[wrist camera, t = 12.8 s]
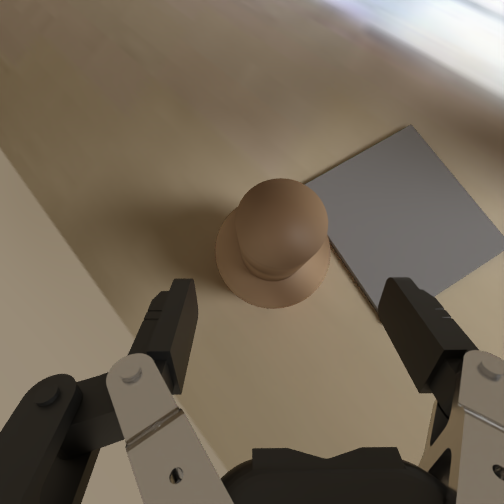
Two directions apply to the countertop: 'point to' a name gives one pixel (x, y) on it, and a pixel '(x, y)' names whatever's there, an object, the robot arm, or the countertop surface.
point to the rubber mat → (404, 217)
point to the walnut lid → (274, 244)
